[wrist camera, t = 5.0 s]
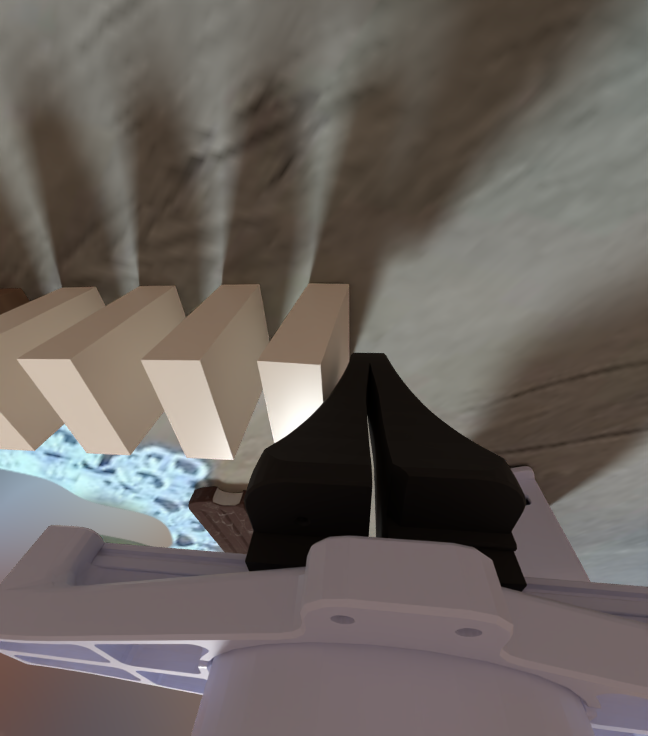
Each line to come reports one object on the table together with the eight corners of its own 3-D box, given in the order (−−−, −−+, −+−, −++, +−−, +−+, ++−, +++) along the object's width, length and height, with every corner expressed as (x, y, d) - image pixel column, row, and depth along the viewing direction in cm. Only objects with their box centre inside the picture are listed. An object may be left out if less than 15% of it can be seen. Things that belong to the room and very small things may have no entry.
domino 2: (175, 285, 16) (70, 359, 10) (201, 362, 18) (130, 455, 13) (139, 286, 16) (16, 358, 10) (170, 362, 19) (87, 453, 13)
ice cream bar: (293, 562, 34) (245, 481, 26) (290, 579, 32) (238, 499, 24) (250, 562, 35) (190, 484, 27) (245, 579, 34) (181, 501, 25)
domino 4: (349, 283, 15) (320, 365, 9) (349, 366, 17) (327, 468, 12) (308, 283, 15) (256, 360, 9) (315, 363, 18) (278, 461, 12)
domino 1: (95, 286, 16) (-49, 358, 10) (132, 361, 19) (34, 450, 13) (62, 287, 16) (-97, 357, 11) (103, 361, 19) (-7, 448, 13)
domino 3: (259, 284, 15) (200, 360, 9) (273, 363, 18) (233, 459, 12) (221, 284, 15) (140, 359, 10) (240, 362, 18) (186, 457, 12)
